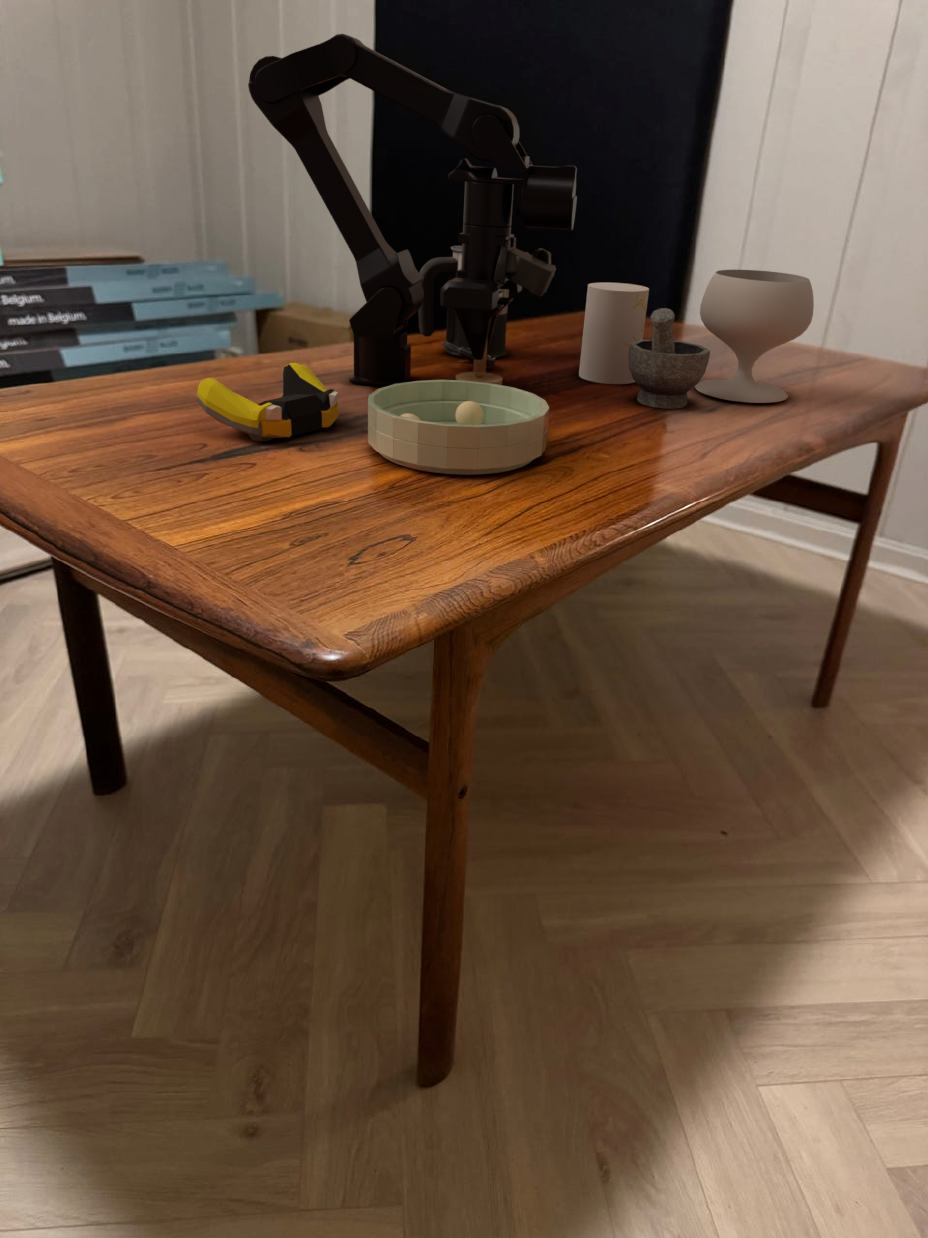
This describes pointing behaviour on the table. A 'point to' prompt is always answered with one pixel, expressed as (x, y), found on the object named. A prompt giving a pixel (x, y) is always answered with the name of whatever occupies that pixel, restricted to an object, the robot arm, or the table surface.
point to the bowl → (457, 426)
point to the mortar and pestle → (666, 364)
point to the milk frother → (454, 330)
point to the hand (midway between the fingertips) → (480, 357)
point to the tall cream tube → (611, 331)
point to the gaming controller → (273, 406)
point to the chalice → (753, 325)
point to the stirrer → (480, 373)
